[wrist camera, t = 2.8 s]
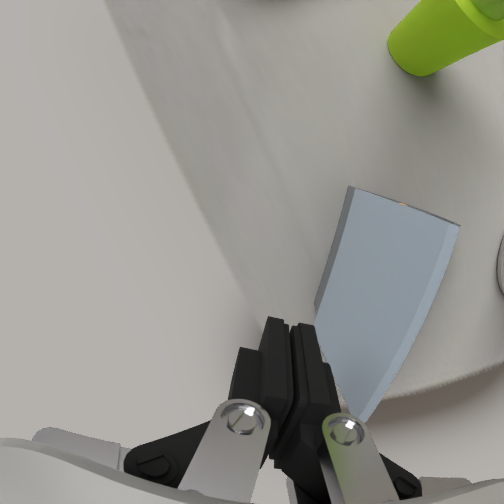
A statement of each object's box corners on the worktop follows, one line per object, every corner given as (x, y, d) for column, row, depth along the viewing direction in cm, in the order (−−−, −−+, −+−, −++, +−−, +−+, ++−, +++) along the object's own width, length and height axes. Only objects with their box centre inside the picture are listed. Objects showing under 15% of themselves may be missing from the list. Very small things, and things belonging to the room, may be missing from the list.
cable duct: (435, 214, 26) (460, 225, 21) (397, 318, 29) (413, 343, 24) (348, 185, 26) (363, 190, 21) (314, 302, 29) (319, 327, 25)
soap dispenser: (429, 94, 22) (580, 48, 3) (377, 48, 21) (487, -63, 2) (451, 62, 20) (581, 9, 1) (402, 18, 20) (502, -80, 1)
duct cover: (460, 227, 11) (449, 223, 11) (365, 422, 14) (354, 423, 14) (364, 191, 21) (355, 188, 21) (320, 329, 24) (311, 328, 24)
